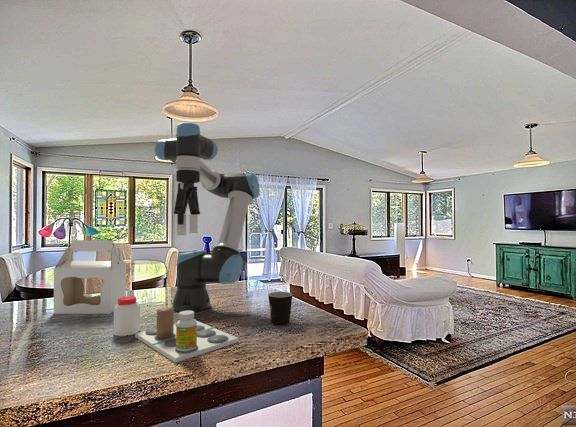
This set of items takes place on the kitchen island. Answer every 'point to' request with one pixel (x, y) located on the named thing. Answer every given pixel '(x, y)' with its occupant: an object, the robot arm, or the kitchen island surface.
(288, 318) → the coffee mug
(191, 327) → the supplement bottle
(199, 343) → the board
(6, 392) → the kitchen island surface
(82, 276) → the gable box
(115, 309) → the pill bottle
